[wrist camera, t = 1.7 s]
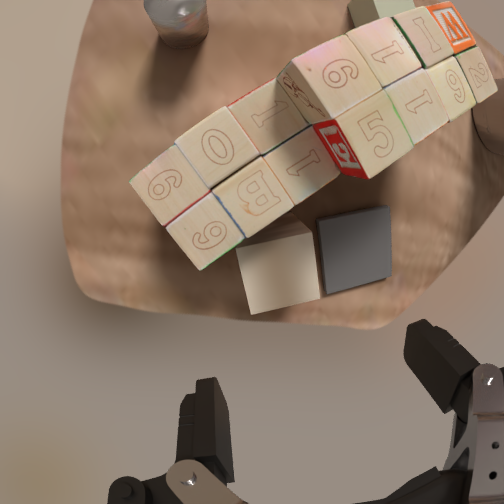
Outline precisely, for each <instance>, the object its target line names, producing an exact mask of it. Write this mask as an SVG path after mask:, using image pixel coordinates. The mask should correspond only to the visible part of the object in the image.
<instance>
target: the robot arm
mask: <svg viewBox="0 0 504 504" xmlns="http://www.w3.org/2000/svg"><path fill="white" fill-rule="evenodd" d="M494 81H495V83H496V86H497V89H498V90H497V92H495V93H494V94H493V95H491V96H490V97H488V98H487V99H485V100H484V101H482V102H481V103H479V104H476V105H475V106H474V107H472V108H473V117H474V121H475V125H476V128H477V131H478V134H479V136H480V138H481V140H482V142H483V143H484V145H485V146H486V147H487V149H489V150H490V151H491V152H493V153H496V154H501V155H504V78H502V79H494ZM404 359H405V361H406V363H407V365H408V366H409V368H410V369H411V370H412V371H413V373H414V374H415V375H416V377H417V378H418V379H419V380H420V382H421V383H422V385H423V386H424V387H425V388H426V390H427V391H428V392H429V394H430V395H431V397H432V398H433V399H434V401H435V402H436V403H437V405H438V406H439V408H440V409H441V410H442V412H443V413H444V414H445V413H447V412H449V411H451V410H452V409H453V410H454V411H455V414H454V419H453V429H452V437H451V444H450V450H449V454H448V457H447V460H446V462H445V465H444V468H443V470H442V471H438V470H437V468H436V467H433V468H432V469H430V470H428V471H426V472H424V473H423V474H421V475H419V476H417V477H415V478H413V479H411V480H410V481H408V482H407V483H406V484H404V485H403V486H402V487H400V488H399V489H398V490H396V491H395V492H393V493H392V494H391V495H389V496H388V497H387V498H384V499H380V500H375V501H368V502H362V503H355V504H504V367H503V368H498V367H497V366H495V365H493V364H488V363H486V364H480V363H479V362H478V361H477V360H476V359H475V358H474V357H473V356H472V355H471V354H470V353H469V352H468V351H467V350H466V349H465V348H464V347H463V346H462V345H460V344H459V342H458V341H457V340H456V339H454V338H453V336H451V335H450V334H449V333H448V332H447V331H446V330H444V329H442V328H440V327H438V326H435V327H433V326H432V325H431V324H430V323H429V322H428V321H427V320H425V319H421V320H419V321H417V322H414V323H411V324H409V325H408V327H407V332H406V339H405V346H404ZM179 416H180V418H179V427H178V439H177V451H176V461H175V463H174V465H172V466H171V467H170V469H169V470H168V472H167V473H165V474H164V475H162V476H159V477H156V478H152V479H149V480H145V481H139V480H138V479H136V478H134V477H129V476H126V477H121V478H118V479H117V480H115V481H114V482H113V483H112V485H111V486H110V488H109V494H108V503H107V504H248V503H247V502H245V501H243V500H241V499H240V498H239V497H238V496H236V494H234V493H233V492H232V491H231V490H230V489H229V488H227V483H231V482H235V481H234V470H233V459H232V447H231V435H230V422H229V411H228V407H227V403H226V400H225V398H224V395H223V393H222V390H221V388H220V385H219V383H218V380H217V378H216V377H212V378H206V379H200V380H197V381H196V393H193V394H187V395H186V396H185V398H184V399H183V401H182V403H181V405H180V414H179Z"/></svg>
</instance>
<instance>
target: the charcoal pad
mask: <svg viewBox="0 0 504 504" xmlns="http://www.w3.org/2000/svg"><path fill="white" fill-rule="evenodd" d="M316 224H317V231H318V239H319V247H320V256H321V265H322V274H323V284H324V291H325V292H326V294H329V293H333V292H337V291H341V290H344V289H348V288H352V287H355V286H359V285H363V284H366V283H370V282H373V281H376V280H380V279H383V278H387V277H390V276H391V272H392V251H391V219H390V207H389V206H387V205H383V206H378V207H373V208H368V209H363V210H358V211H353V212H348V213H343V214H338V215H333V216H328V217H323V218H319V219H316Z"/></svg>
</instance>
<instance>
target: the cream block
mask: <svg viewBox="0 0 504 504" xmlns="http://www.w3.org/2000/svg"><path fill="white" fill-rule="evenodd" d="M235 249H236V253H237V257H238V262H239V266H240V270H241V274H242V279H243V283H244V287H245V291H246V295H247V300H248V304H249V308H250V312H251V315H252V314H257V313H261V312H266V311H270V310H274V309H279V308H283V307H287V306H291V305H295V304H300V303H304V302H308V301H312V300H316V299H320V295H319V285H318V276H317V267H316V259H315V251H314V243H313V235H312V231H311V230H309V229H308V228H307V227H306V226H305V225H304V224H303V223H302V222H301V221H300V220H299V219H298V218H297V217H296V216H295V215H294V214H293V213H292V212H290V213H286V214H283V215H281V216H280V217H278V218H277V219H275V220H274V221H273V222H271V223H270V224H268V225H267V226H265V227H264V228H263V229H261V230H260V231H258V232H257V233H255V234H254V235H253V236H251V237H249V238H245V239H244V240H243V241H242V242H241V243H239V244H238V245H237V246H235Z"/></svg>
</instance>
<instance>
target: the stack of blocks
mask: <svg viewBox="0 0 504 504" xmlns="http://www.w3.org/2000/svg"><path fill="white" fill-rule="evenodd" d="M497 90H498V89H497V86H496V83H495V81H494V79H493V76H492V74H491V72H490V69H489V67H488V65H487V63H486V61H485V58H484V56H483V54H482V52H481V50H480V48H479V47H477V46H476V41H475V39H474V37H473V35H472V34H471V32H470V30H469V29H468V27H467V25H466V24H465V22H464V20H463V19H462V17H461V16H460V14H459V13H458V11H457V10H456V8H455V7H454V5H453V4H452V3H451V2H450V1H447V2H442V3H438V4H434V5H429V6H426V7H424V6H421V7H418V8H415V9H412V10H408V11H405V12H402V13H399V14H396V15H394V16H392V17H390V18H389V17H386V16H385V17H383V18H379V19H377V20H375V21H372V22H369V23H367V24H364V25H362V26H359V27H357V28H354V29H352V30H350V31H348V32H347V33H345V34H344V35H340V36H338V37H335V38H333V39H331V40H329V41H327V42H325V43H323V44H321V45H318V46H316V47H314V48H312V49H310V50H308V51H306V52H305V53H303V54H301V55H299V56H297V57H295V58H293V59H292V60H291V61H290V62H289V63H288V64H287V66H286V67H285V68H284V69H283V70H282V71H281V72H280V73H279V75H278V76H277V77H275V78H273V79H271V80H270V81H268V82H266V83H265V84H263V85H261V86H259V87H258V88H256V89H254V90H253V91H251V92H249V93H248V94H246V95H244V96H243V97H241V98H239V99H238V100H236V101H235V102H233V103H231V104H230V105H228V106H223V107H222V108H220V109H219V110H217V111H216V112H214V113H212V114H211V115H209V116H208V117H206V118H205V119H203V120H202V121H201V122H199V123H198V124H196V125H195V126H194V127H192V128H191V129H190V130H188V131H187V132H185V133H184V134H183V135H181V136H180V137H179V138H178V139H176V140H175V142H174V145H172V146H171V147H170V148H168V149H167V150H166V151H164V152H163V153H162V154H161V155H159V156H158V157H157V158H156V159H154V160H153V161H152V162H151V163H149V164H148V165H147V166H146V167H145V168H143V169H142V170H141V171H140V172H138V173H137V174H136V175H135V176H134V177H133V178H131V179H130V181H129V183H130V184H131V185H132V187H133V188H134V190H135V191H136V192H137V194H138V195H139V196H140V198H141V199H142V200H143V201H144V203H145V204H146V205H147V207H148V208H149V209H150V211H151V212H152V213H153V215H154V216H155V217H156V219H157V220H158V221H159V222H160V224H161V225H162V226H164V227H165V228H166V229H167V231H168V232H169V234H170V235H171V236H172V238H173V239H174V240H175V241H176V243H177V244H178V245H179V246H180V248H181V249H182V250H183V251H184V252H185V253H186V255H187V256H188V258H189V259H190V260H191V261H192V262H193V264H194V265H195V266H196V267H197V268H198V269H199V270H203V269H204V268H206V267H207V266H208V265H210V264H211V263H213V262H214V261H215V260H217V259H218V258H220V257H221V256H222V255H224V254H225V253H227V252H228V251H230V250H231V249H233V248H234V247H235V246H237V245H238V244H239V243H241V242H242V241H243V240H244V239H245V238H249V237H251V236H253V235H254V234H255V233H257V232H258V231H260V230H261V229H263V228H264V227H265V226H267V225H268V224H270V223H271V222H273V221H274V220H275V219H277V218H278V217H280V216H281V215H283V214H284V213H285V212H287V211H289V210H290V209H291V208H293V207H294V206H295V205H297V204H299V203H301V202H303V201H304V200H305V199H307V198H308V197H310V196H311V195H313V194H314V193H315V192H317V191H318V190H320V189H321V188H322V187H324V186H325V185H327V184H328V183H329V182H331V181H332V180H334V179H335V178H336V177H337V176H338V175H339V174H340V173H343V174H344V175H348V176H354V177H358V178H363V179H371V178H372V177H374V176H375V175H377V174H378V173H380V172H381V171H382V170H384V169H385V168H387V167H388V166H389V165H391V164H392V163H393V162H395V161H396V160H398V159H399V158H401V157H402V156H403V155H405V154H406V153H408V152H409V151H410V150H412V149H413V147H414V145H416V144H418V143H419V142H421V141H422V140H424V139H425V138H427V137H428V136H429V135H431V134H432V133H433V132H435V131H436V130H438V129H439V128H441V127H442V126H444V125H445V124H446V123H450V122H452V121H454V120H455V119H456V118H458V117H459V116H461V115H462V114H464V113H465V112H466V111H468V110H469V109H471V108H472V107H474V106H475V105H476V104H479V103H481V102H482V101H484V100H485V99H487V98H488V97H490V96H491V95H493V94H494V93H495V92H497Z"/></svg>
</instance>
